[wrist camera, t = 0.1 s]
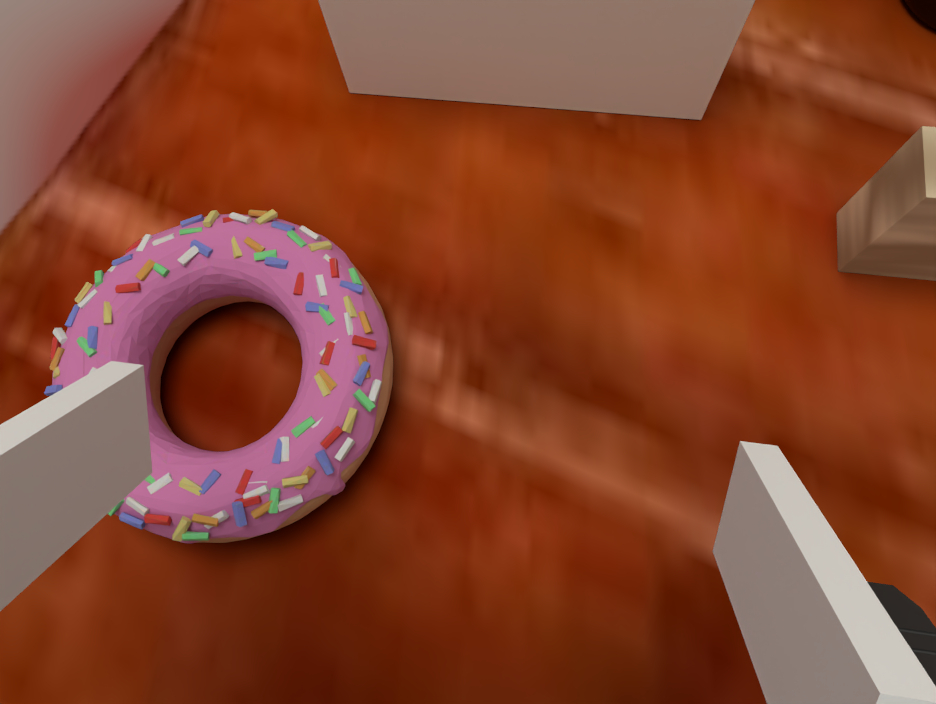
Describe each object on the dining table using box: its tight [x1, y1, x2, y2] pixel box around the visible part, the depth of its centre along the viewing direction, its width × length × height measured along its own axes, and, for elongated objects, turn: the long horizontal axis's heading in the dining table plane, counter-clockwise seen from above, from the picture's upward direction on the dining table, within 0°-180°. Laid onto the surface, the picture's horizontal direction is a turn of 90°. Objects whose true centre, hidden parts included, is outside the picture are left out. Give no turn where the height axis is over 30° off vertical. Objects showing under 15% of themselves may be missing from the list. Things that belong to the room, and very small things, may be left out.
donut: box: [44, 209, 393, 544], centre depth 30 cm, size 14×14×5 cm
